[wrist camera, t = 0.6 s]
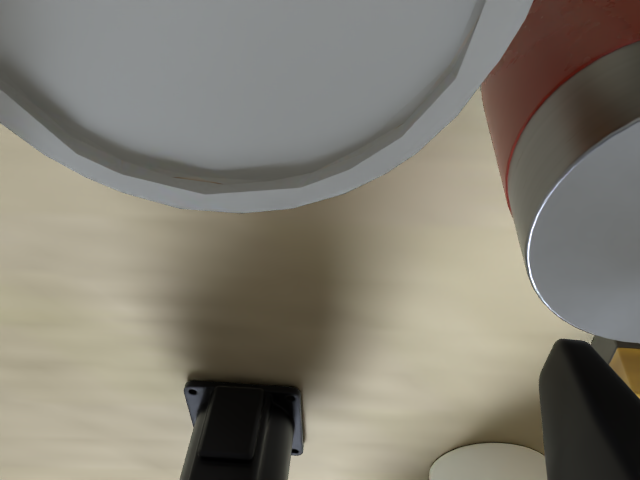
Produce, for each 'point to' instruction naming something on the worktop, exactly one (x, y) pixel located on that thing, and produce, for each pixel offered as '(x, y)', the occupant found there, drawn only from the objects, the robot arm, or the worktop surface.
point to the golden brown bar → (621, 359)
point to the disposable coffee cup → (242, 90)
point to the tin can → (574, 157)
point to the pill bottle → (490, 463)
